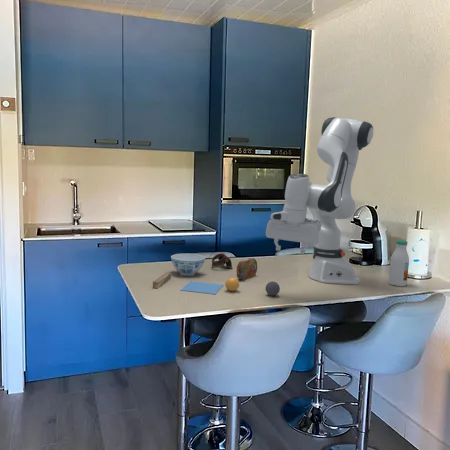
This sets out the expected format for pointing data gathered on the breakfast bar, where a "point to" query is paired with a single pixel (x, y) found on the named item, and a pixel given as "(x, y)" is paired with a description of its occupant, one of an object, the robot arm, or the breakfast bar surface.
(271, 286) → the grey ball
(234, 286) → the orange ball
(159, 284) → the wood strip
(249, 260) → the tin
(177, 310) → the breakfast bar surface
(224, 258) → the brown hollow arched shell
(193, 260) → the chinaware
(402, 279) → the milk bottle
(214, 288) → the blue mark
